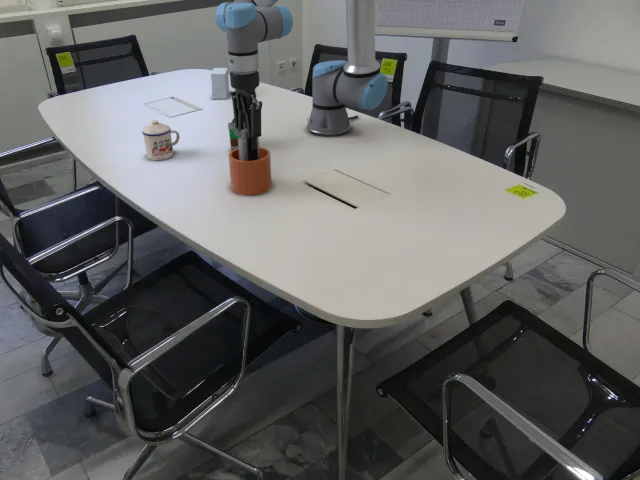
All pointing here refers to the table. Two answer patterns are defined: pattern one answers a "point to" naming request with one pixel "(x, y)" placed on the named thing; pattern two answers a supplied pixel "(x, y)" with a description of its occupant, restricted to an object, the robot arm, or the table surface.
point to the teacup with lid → (159, 140)
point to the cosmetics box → (220, 83)
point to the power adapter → (245, 145)
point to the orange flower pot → (250, 173)
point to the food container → (233, 135)
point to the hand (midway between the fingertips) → (249, 157)
